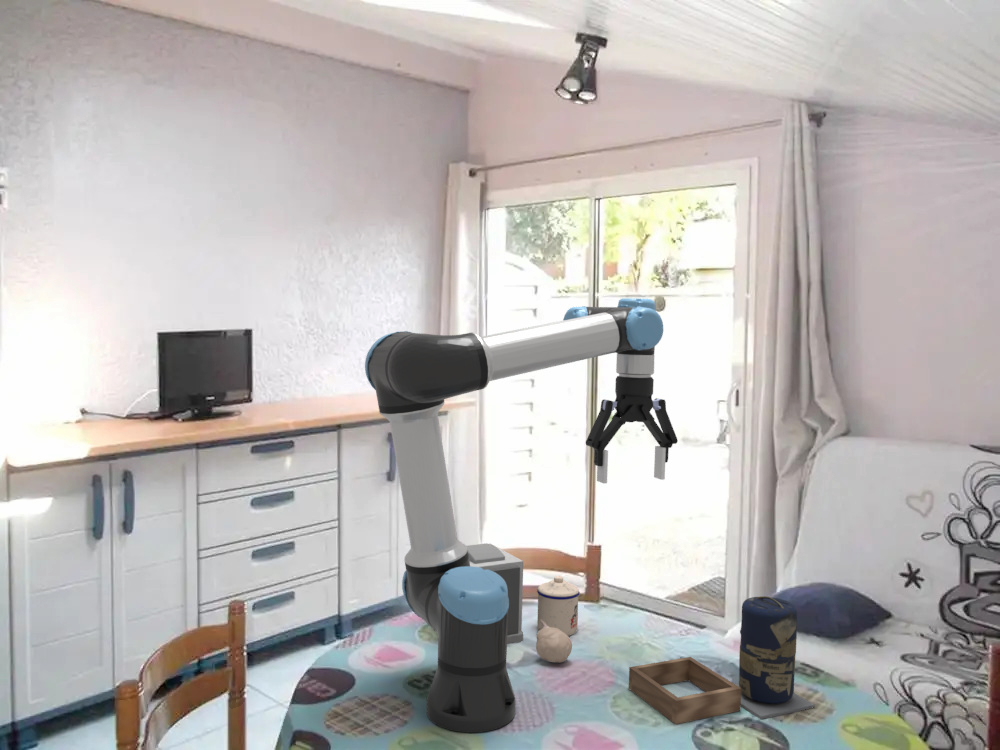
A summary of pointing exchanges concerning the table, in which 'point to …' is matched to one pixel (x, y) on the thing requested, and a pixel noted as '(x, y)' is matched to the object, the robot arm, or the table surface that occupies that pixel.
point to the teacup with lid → (558, 605)
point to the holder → (711, 703)
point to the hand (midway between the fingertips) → (631, 480)
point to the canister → (767, 649)
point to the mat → (774, 706)
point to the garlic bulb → (553, 644)
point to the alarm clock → (512, 575)
